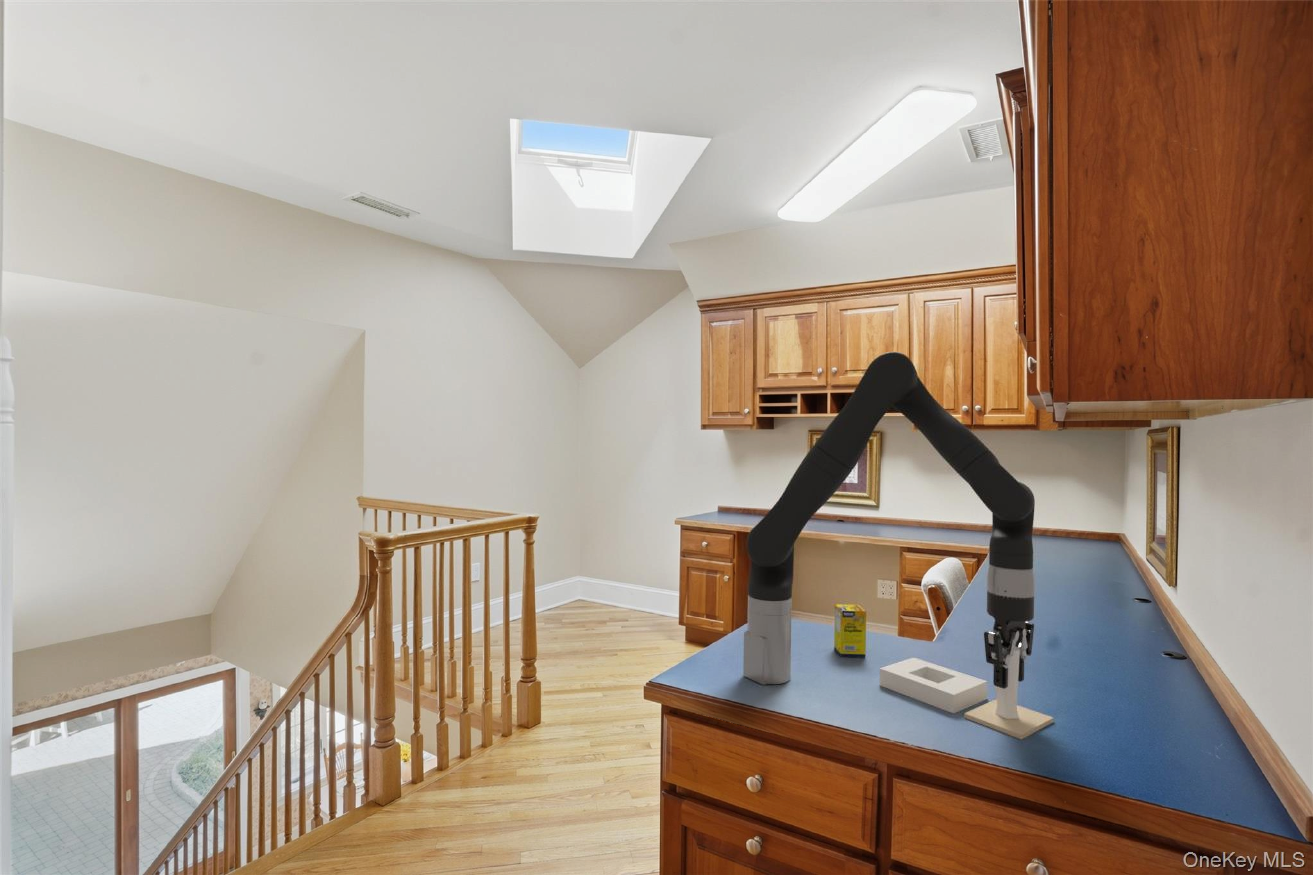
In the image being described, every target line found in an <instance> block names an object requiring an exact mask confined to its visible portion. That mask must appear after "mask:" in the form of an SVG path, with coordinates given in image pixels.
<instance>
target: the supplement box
mask: <svg viewBox="0 0 1313 875" xmlns="http://www.w3.org/2000/svg"><path fill="white" fill-rule="evenodd" d="M866 636H867V611H866V610H865V609H864V608H863V607H862V606H861V605H859V604H841V603H840V604H835V605H834V638H833V640H834V645H833V646H834V648H833V649H834V650H835V651H836V652H837V654H838V655H839V656H840V657H841V658H866V656H867V655H866V650H867V649H866V647H867V645H866V644H867V643H866V642H867V639H866V638H867V637H866Z"/></svg>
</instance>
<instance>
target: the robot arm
mask: <svg viewBox="0 0 1313 875" xmlns="http://www.w3.org/2000/svg"><path fill="white" fill-rule="evenodd" d="M890 408H894V409H895V410H896V411H898V413H900V414H901V415H903V416H904V417H905V418H906V419H908V420H909V422H911V424H913V425H914V426H915V427H916V429H918V431H919V432H921V434H922V435H923V436H924V437H925V439H926V440H928V442H929V443H930V445H932V447H933V448H934V449H935V451H937V453H938V454H939V455H940V457H942V458H943V460H945V461H946V463H947V464H948V465H949V466H950V467H951V468H952V469H953V471H955V472H956V473H957V474H958V475H959V476H960V477H961V478H962V479H963V480H964V481H965V482H966V483H967V484H968V485H969V486H970V487H971V489H972V490H973V491H974V493H975V494H976V495H977V497H978V498H979V499H980V501H981V502H982V503H983V504H984V505H985V506H986V508H987V509H988V510H989V511H990V512H991V514H992V515H991V516H992V522H991V523H992V526H991V527H992V529H991V530H992V533H991V536H990V540H989V548H988V549H989V550H988V556H989V557H988V568H987V569H988V571H987V578H986V612H987V614H988V615H989V616H991V617H992V618H993V619H994V624H993V627H992V631H988V630H984V632H983V637H984V638H983V640H984V652H985V660H986V661H985V662H986V663H987V664H991V665H992V666H993V665H994V670H993V677H992V678H993V680H992V681H993V686H997V687H1000V688H1003V689H1005V688H1007V687H1008V668H1007V667H1008V664H1009V659H1010V656H1013V654H1014V649H1015V647H1017V648H1018V649H1019V650H1020V655H1019V674H1018V683H1021V682H1023V681H1024V679H1025V662H1026V661H1027V658H1028V656H1031V655H1032V651H1033V643H1034V642H1033V640H1034V631H1035V624H1034V623H1032V622H1030V621H1033V620H1034V618H1035V575H1034V544H1033V529H1034V520H1035V519H1034V517H1035V504H1036V502H1035V501H1036V500H1035V496H1034V493H1033V491H1032V490H1031V488H1030V487H1029V486H1027V485H1026V484H1025V483H1023V482H1020V481H1018V480H1017V479H1016V478H1015V477H1014V476H1013V475H1012V474H1011V473H1010V472H1009V471H1008V470H1006V468H1005V467H1004V466H1002V465H1001V463H1000V461H999V460H998V458H997V457H996V455H995V454H994V453H993V452H992V451H991V450H990V449H989V448H988V447H987V446H986V444H984V443H983V442H982V440H981V439H979V438H978V436H976V434H974V432H972V431H971V430H970V429H969V428H968V427H967V426H965V424H963V423H962V422H960V421H959V419H957V418H956V417H954V416H953V415H952V414H951V413H950V412H948V411H947V410H946V409H945V408H944V407H943V406H942V405H941V404H940V403H939V402H938V401H937V400H936V399H935V398H934V396H933V395H932V394H931V393H930V392H929V390H928V389H927V387H926V386H925V384H924V383H923V382H922V380H921V379H920V377H919V375H918V372H917V369H916V366H915V365H914V363H913V362H912V360H911V359H910V358H909V356H907V355H906V354H904V353H902V352H899V351H887V352H884V353H882V354H880V355H878V356H876V357H875V358H874V359H873V360H872V361H871V363H870V364H869V365H868V367H867V369H866V370H865V372H864V373H863V375H862V377H861V378H860V380H859V383H858V384H857V386H856V387H855V389H854V390H853V393H852V394H851V395H850V397H849V399H848V401H847V402H846V403H845V405H844V406H843V408H842V409H841V410H840V411H839V412H838V414H836V416H835V417H834V419H833V420H832V421H831V422H830V423H829V424H828V426H827V427H826V429H825V430H824V431H823V432H822V433H821V434H820V436H819V437H818V438H817V440H816V441H815V442H814V444H813V445H812V447H811V448H810V449H809V451H808V452H807V453H806V455H805V457H804V458H803V459H802V461H801V462H800V464H799V466H798V467H797V469H796V470H795V472H794V473H793V474H792V477H791V478H790V480H789V482H788V484H787V486H786V487H785V489H784V491H783V493H782V494H781V496H780V497H779V499H778V500H777V501H776V503H775V504H774V505H773V506H772V507H771V509H770V510H769V511H768V512H767V513H766V514H765V516H763V518H761V519H760V521H758V523H757V524H756V525H755V526H753V528H752V529H751V530H750V531H749V533H748V535H747V538H746V544H745V545H746V551H747V555H748V557H749V559H750V572H749V577H748V578H749V579H748V583H747V628H746V629H747V630H745V631H744V633H743V666H742V667H743V670H742V671H743V672H742V673H743V677H745V678H747V679H750V680H751V681H753V682H756V683H758V684H760V685H763V686H765V685H779V684H780V685H781V684H784V683H788V682H789V681H790V680H791V678H792V674H791V672H792V666H791V665H792V610H793V609H792V604H793V603H792V602H793V601H792V600H793V598H792V596H793V583H794V566H795V564H794V561H795V543H796V541H797V539H798V538H799V536H800V535H801V533H802V531H803V530H804V528H805V526H806V525H807V524H808V522H809V521H810V520H811V519H812V517H813V516H814V515H815V514H816V513H817V512H818V511H819V510H820V509H821V508H822V507H823V506H824V505H825V504H826V503H827V502H828V501H829V499H830V498H831V497H832V496H833V495H834V494H835V493H836V492H837V491H838V490H839V488H840V487H841V486H842V485H843V483H844V482H845V481H846V480H847V478H848V477H849V475H850V474H851V473H852V471H853V470H854V469H855V467H856V466H857V464H858V462H859V461H860V459H861V457H862V455H863V454H864V452H865V449H867V448H866V447H867V445H868V443H869V441H870V438H871V436H872V434H873V432H874V431H875V429H876V427H877V425H878V424H879V422H880V421H881V420H882V418H884V416H885V415H886V414H887V412H888V411H889V410H890ZM1002 647H1005V648H1008V649H1006V650H1005V649H1002ZM992 653H993V655H992ZM1003 654H1004V658H1003Z"/></svg>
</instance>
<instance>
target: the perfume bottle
mask: <svg viewBox="0 0 1313 875" xmlns="http://www.w3.org/2000/svg"><path fill="white" fill-rule="evenodd" d="M1002 649H1005V650H1006V649H1008V648H1005V647H1002ZM992 655H993V653H992ZM1019 655H1020V650H1019V649H1018V648H1017V647H1015V649H1014V654H1013V656H1010V659H1009V664H1008V667H1007V668H1008V687H1007V688H1005V689H1003V688H1000V687H997V686H995V685H994V686H995V687H994V689H995V695H996V696H995V698H996V699H997V708H996V711H995V714H997V715H999V716H1001V717H1003V718H1006V719H1018V718H1019V715H1018V712H1017V705H1018V692H1019V691H1018V690H1019V689H1018V688H1019V681H1018V674H1019ZM1003 658H1004V654H1003ZM992 668H993V671H994V665H993V664H992Z"/></svg>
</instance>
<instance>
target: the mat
mask: <svg viewBox="0 0 1313 875" xmlns="http://www.w3.org/2000/svg"><path fill="white" fill-rule="evenodd" d="M996 708H997V699H993V700H991V701H989V702H986V703H984V704H982V705H980V706H977V707H975V708H973V709H971V710H968V711H966V712H965V713H964V715H963V717H964V719H967V720H969V721H972V722H974V723H978V724H980V725H983V726H985V727H987V728H991V729H993V730H996V731H998V732H1000V733H1003V734H1006V735H1009V736H1011V737H1014V738H1016V739H1019V740H1023V739H1025V738H1027V737H1029V736H1030V735H1033V734H1034V733H1036V732H1038V731H1040V730H1042V729H1043V728H1045V727H1047V726H1049V725H1051V724H1053V723H1054V717H1053V716H1051V715H1046V714H1045V713H1041V712H1038V711H1035V710H1032V709H1029V708H1027V707H1024V706H1021V705H1018V704H1017V712H1018V715H1019V718H1018V719H1006V718H1003V717H1001V716H999V715H997V714H995V711H996Z"/></svg>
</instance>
